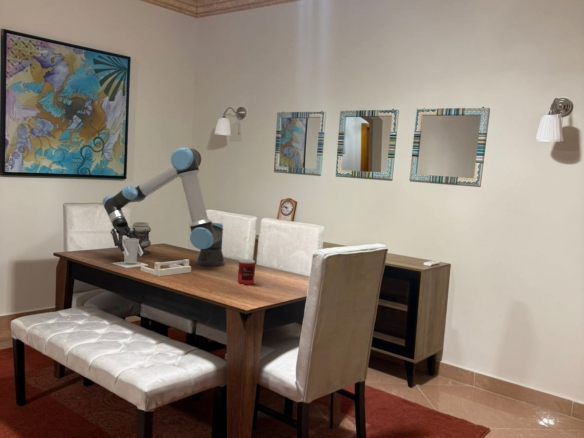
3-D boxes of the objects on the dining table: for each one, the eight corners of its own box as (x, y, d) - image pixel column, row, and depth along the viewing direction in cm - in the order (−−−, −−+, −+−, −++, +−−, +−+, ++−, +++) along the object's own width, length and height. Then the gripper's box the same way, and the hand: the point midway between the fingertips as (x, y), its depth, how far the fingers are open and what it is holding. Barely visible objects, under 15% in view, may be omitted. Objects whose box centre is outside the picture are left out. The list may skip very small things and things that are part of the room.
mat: (134, 261, 291) (134, 260, 291) (148, 265, 283) (148, 264, 283) (112, 263, 281) (112, 262, 281) (126, 268, 273) (126, 267, 273)
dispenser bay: (140, 270, 269) (140, 258, 269) (172, 266, 284) (172, 255, 284) (158, 276, 259) (159, 264, 259) (191, 272, 274) (191, 260, 273)
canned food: (245, 280, 262) (246, 258, 261) (257, 283, 257) (258, 261, 256) (234, 282, 256) (235, 260, 255) (246, 286, 251) (247, 262, 250)
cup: (133, 264, 277) (134, 241, 276) (119, 262, 279) (120, 239, 278) (141, 261, 285) (141, 239, 284) (127, 260, 287) (128, 237, 285)
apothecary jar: (129, 250, 323) (130, 221, 321) (149, 251, 327) (151, 221, 325) (129, 254, 312) (130, 223, 310) (151, 254, 315) (152, 224, 313)
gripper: (132, 224, 298) (148, 257, 289) (97, 225, 282) (113, 261, 273) (138, 216, 294) (154, 249, 285) (103, 217, 278) (119, 252, 270)
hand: (134, 255), depth 279 cm, fingers closed on cup, 8 cm apart
